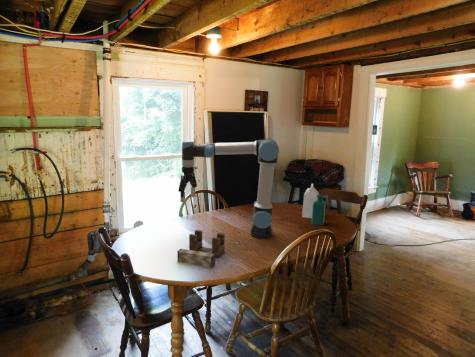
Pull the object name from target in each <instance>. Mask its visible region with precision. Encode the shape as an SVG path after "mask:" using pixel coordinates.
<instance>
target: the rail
mask: <svg viewBox="0 0 475 357" xmlns="http://www.w3.org/2000/svg"><path fill="white" fill-rule="evenodd" d="M176 252H177V254H176V255H177V263H182V264H188V265H195V266H200V267H205V268H206V267H207V268H211V269H213V267H215V265H216V258H215V254H212V253H205V252H199V251H193V250H189V249H185V248H180V249H178V250H177V251H176Z"/></svg>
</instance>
